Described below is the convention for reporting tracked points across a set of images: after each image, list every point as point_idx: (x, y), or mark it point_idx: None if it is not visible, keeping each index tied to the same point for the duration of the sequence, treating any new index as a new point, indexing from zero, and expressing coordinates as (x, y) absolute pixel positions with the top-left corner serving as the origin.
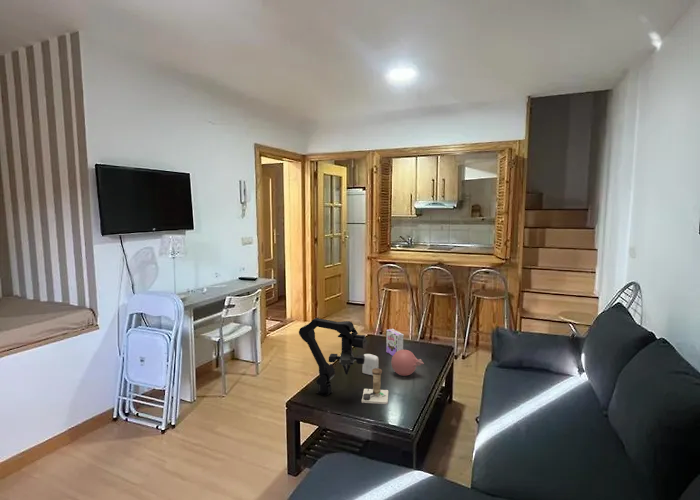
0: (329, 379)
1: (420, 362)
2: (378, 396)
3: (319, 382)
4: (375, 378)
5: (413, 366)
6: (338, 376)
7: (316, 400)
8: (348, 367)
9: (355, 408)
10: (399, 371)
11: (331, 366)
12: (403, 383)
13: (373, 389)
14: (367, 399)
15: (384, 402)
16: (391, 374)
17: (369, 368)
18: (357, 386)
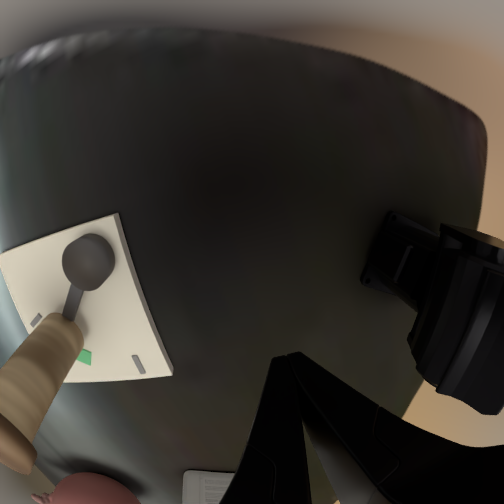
0: (447, 255)
1: (39, 500)
2: (54, 308)
3: (478, 233)
4: (2, 379)
5: (52, 493)
6: None
7: (415, 145)
8: (264, 483)
9: (132, 115)
10: (92, 484)
11: (489, 389)
12: (65, 438)
13: (61, 332)
14: (79, 237)
15: (6, 251)
16: (142, 480)
17: (219, 495)
18: (230, 393)
